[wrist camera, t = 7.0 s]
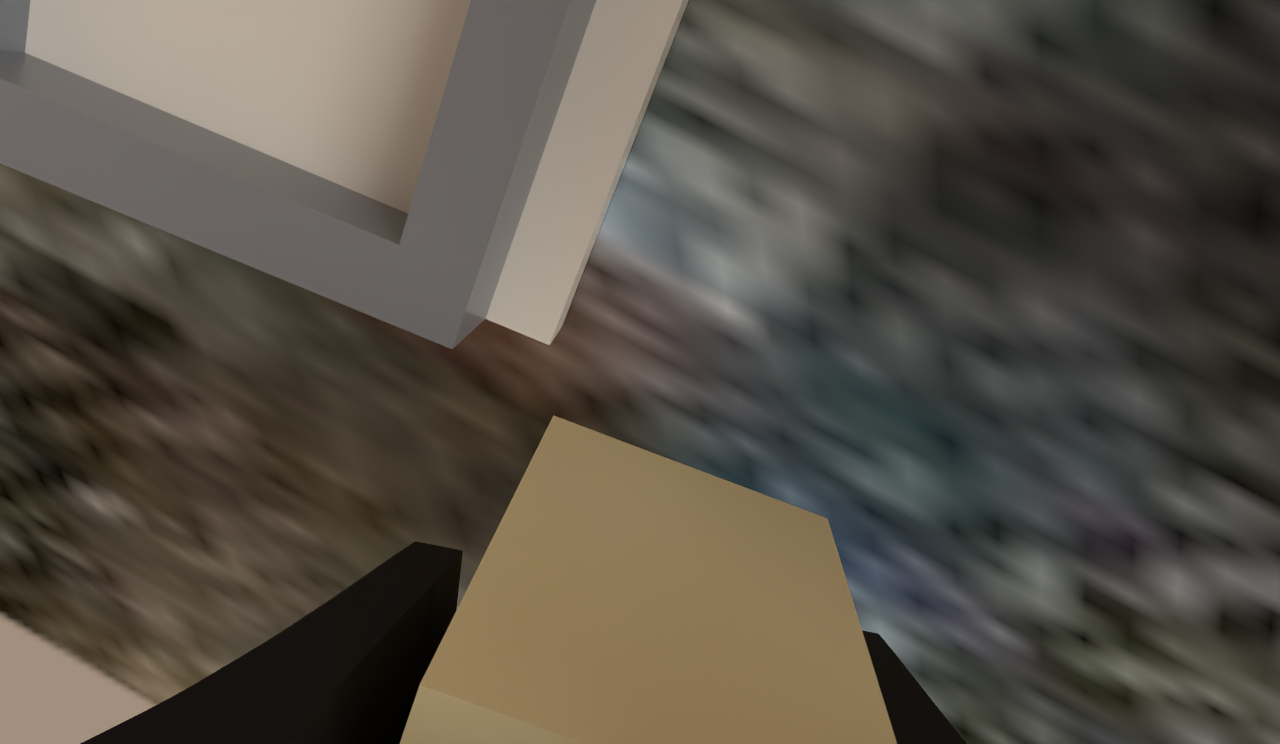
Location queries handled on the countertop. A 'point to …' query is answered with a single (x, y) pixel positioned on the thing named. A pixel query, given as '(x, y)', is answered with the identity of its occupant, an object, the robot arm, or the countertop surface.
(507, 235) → the panel
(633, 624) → the tan block
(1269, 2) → the countertop surface
